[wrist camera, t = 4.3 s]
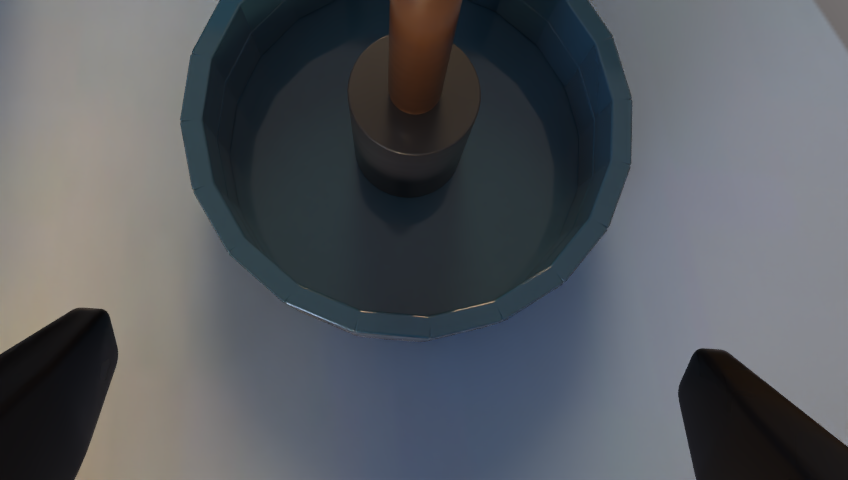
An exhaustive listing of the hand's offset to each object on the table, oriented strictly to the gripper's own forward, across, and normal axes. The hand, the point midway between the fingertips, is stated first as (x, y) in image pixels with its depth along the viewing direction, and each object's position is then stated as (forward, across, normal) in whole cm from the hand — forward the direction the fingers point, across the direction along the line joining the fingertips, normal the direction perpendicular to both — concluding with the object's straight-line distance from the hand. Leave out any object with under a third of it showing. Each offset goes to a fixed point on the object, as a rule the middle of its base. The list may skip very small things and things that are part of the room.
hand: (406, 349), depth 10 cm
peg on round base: (+14, 0, +4) cm, 15 cm away
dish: (+15, 0, +4) cm, 15 cm away
